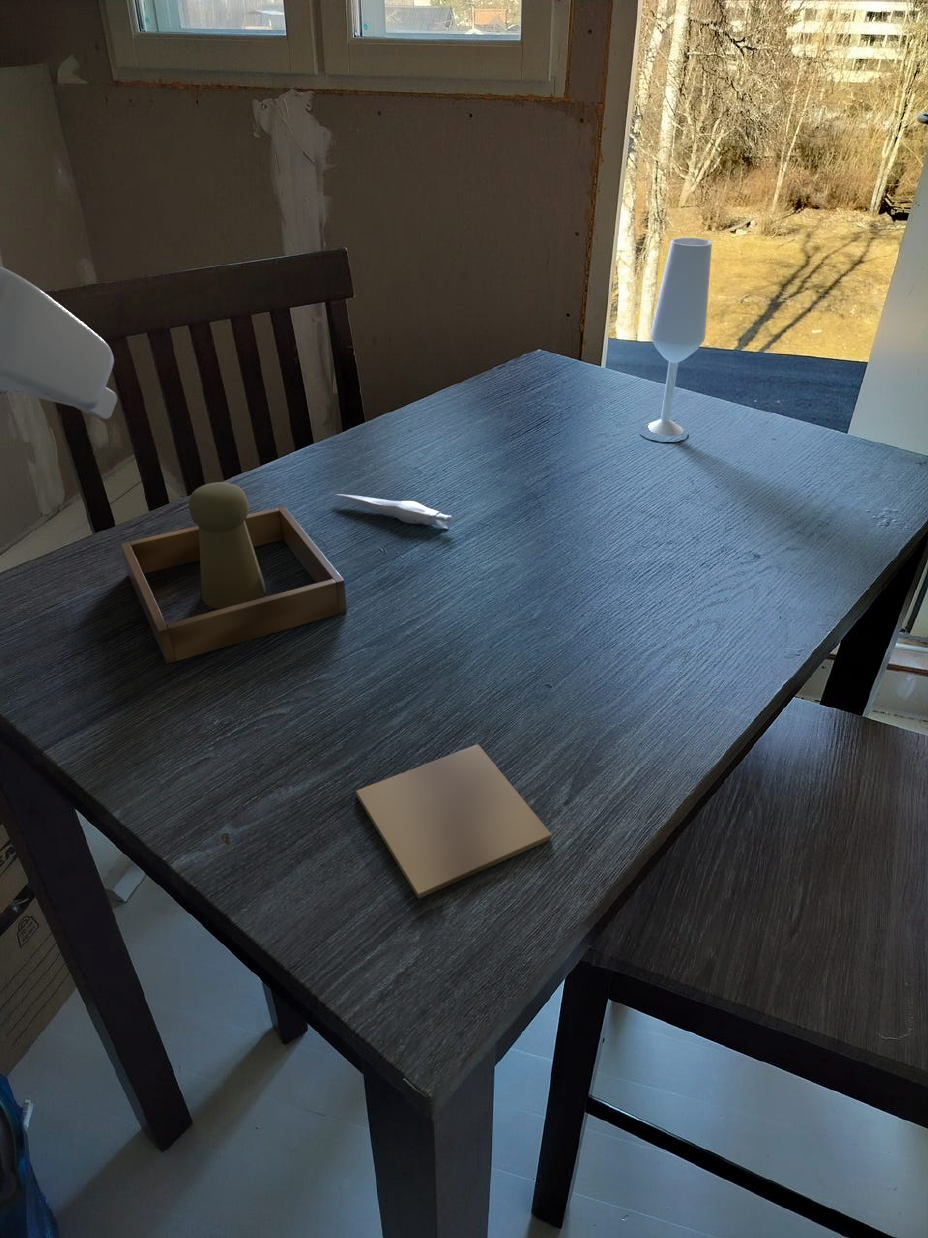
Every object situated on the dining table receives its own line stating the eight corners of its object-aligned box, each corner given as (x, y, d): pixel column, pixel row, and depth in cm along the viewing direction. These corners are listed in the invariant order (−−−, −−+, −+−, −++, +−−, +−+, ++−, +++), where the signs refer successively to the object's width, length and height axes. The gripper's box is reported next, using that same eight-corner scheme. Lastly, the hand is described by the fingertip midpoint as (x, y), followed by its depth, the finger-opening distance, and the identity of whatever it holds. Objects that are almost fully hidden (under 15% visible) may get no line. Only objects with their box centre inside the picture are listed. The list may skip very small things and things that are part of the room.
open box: (166, 664, 73) (158, 631, 71) (128, 573, 85) (120, 543, 83) (347, 612, 79) (344, 580, 77) (287, 534, 91) (284, 505, 89)
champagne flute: (634, 439, 113) (659, 245, 99) (641, 420, 118) (666, 234, 104) (686, 445, 111) (718, 249, 97) (691, 426, 116) (722, 237, 103)
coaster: (418, 899, 53) (418, 894, 53) (355, 795, 60) (355, 790, 60) (551, 839, 57) (552, 834, 57) (478, 748, 64) (478, 743, 64)
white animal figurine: (457, 524, 93) (457, 509, 92) (447, 535, 91) (447, 519, 90) (341, 497, 98) (340, 482, 97) (328, 506, 96) (327, 491, 95)
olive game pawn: (188, 601, 81) (166, 496, 74) (226, 570, 85) (208, 469, 79) (242, 615, 79) (224, 509, 72) (278, 583, 83) (263, 480, 77)
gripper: (-300, 301, 46) (-69, 411, 59) (-53, 357, 39) (151, 469, 51) (-253, 198, 47) (-35, 328, 60) (-1, 232, 39) (188, 374, 52)
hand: (53, 394), depth 55 cm, fingers open, 8 cm apart
